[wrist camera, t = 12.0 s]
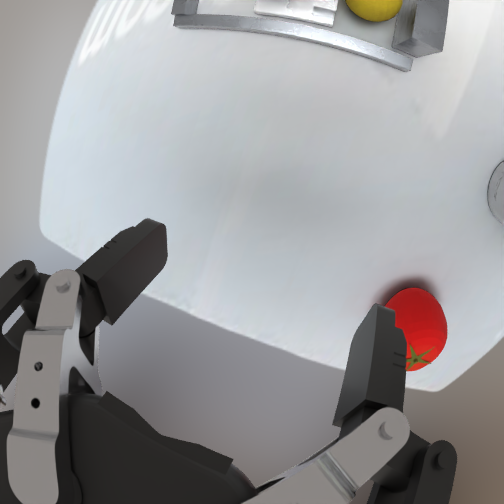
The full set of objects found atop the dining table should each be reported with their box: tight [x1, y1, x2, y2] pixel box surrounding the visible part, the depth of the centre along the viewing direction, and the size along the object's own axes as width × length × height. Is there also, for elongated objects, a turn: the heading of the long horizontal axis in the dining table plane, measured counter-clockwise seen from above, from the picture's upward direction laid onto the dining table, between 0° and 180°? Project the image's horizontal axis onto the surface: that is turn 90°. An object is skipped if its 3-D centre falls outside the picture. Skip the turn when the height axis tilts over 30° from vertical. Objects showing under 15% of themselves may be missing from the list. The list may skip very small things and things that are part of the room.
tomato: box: [385, 288, 447, 371], centre depth 33 cm, size 10×11×11 cm
